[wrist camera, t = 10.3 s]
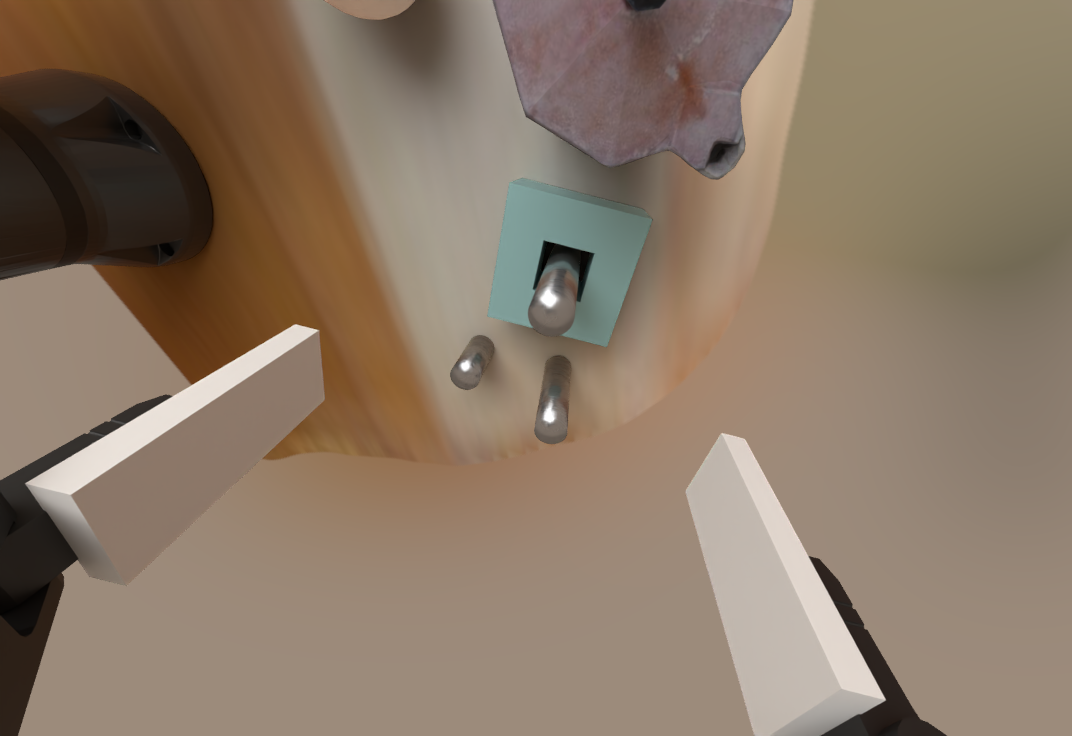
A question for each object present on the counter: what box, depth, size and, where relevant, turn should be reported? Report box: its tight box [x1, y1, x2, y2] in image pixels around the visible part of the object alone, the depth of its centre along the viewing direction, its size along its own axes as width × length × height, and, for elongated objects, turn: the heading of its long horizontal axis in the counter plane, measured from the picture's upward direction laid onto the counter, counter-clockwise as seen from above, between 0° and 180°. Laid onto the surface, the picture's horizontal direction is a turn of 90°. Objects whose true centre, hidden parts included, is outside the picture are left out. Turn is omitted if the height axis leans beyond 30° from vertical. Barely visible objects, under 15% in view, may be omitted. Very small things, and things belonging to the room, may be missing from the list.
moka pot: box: [493, 0, 793, 179], centre depth 18 cm, size 10×15×20 cm, turn 44°
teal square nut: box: [487, 178, 653, 347], centre depth 31 cm, size 10×10×6 cm
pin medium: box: [534, 356, 571, 444], centre depth 34 cm, size 3×3×10 cm
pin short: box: [450, 335, 494, 390], centre depth 36 cm, size 3×3×6 cm
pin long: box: [528, 244, 581, 337], centre depth 27 cm, size 3×3×14 cm
